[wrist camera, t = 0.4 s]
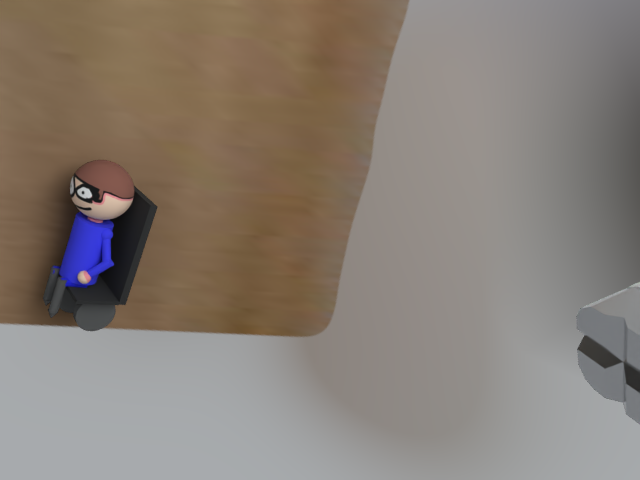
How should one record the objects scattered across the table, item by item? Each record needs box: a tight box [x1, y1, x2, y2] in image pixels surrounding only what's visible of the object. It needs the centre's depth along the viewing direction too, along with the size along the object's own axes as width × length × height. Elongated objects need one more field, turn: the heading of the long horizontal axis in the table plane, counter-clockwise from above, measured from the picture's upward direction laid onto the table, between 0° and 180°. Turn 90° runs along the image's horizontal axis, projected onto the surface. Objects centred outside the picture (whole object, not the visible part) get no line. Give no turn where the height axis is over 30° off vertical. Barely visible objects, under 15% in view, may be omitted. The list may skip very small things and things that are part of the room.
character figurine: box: [43, 160, 157, 331], centre depth 49 cm, size 8×7×15 cm
